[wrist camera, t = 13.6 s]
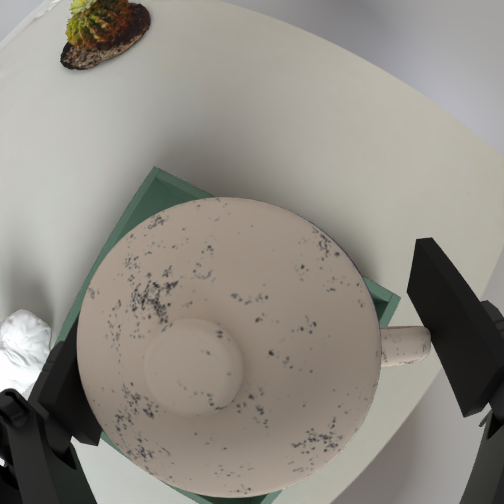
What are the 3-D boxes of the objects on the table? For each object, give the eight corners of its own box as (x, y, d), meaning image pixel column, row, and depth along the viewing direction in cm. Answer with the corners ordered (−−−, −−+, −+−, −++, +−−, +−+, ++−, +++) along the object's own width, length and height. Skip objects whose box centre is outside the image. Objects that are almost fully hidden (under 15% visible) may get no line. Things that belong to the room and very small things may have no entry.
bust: (60, 311, 33) (-19, 267, 26) (69, 344, 27) (-29, 294, 20) (27, 384, 32) (-47, 350, 24) (33, 423, 26) (-55, 388, 19)
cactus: (46, 67, 40) (18, 34, 31) (104, 8, 42) (85, -27, 33) (105, 80, 37) (74, 35, 28) (171, 12, 39) (155, -33, 30)
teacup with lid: (167, 412, 16) (34, 500, 5) (170, 255, 18) (36, 166, 7) (382, 415, 15) (497, 515, 4) (383, 254, 17) (507, 158, 6)
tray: (383, 301, 28) (401, 297, 23) (254, 501, 25) (249, 528, 20) (171, 187, 32) (154, 166, 28) (67, 376, 29) (39, 381, 24)
